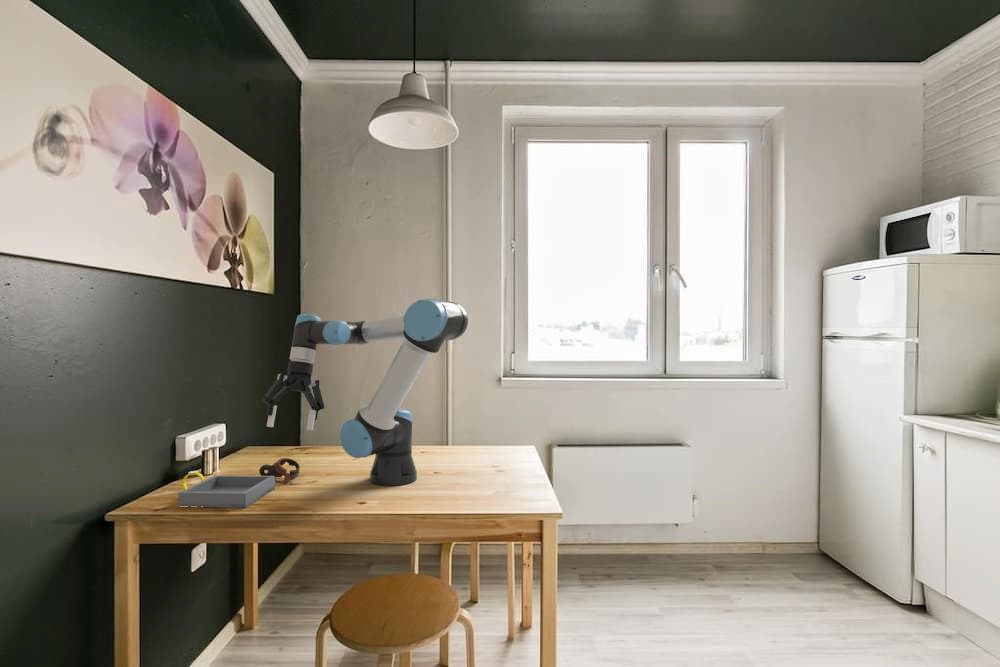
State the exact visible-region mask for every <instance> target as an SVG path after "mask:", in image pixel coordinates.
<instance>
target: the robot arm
mask: <svg viewBox="0 0 1000 667" xmlns="http://www.w3.org/2000/svg"><path fill="white" fill-rule="evenodd" d="M468 325H469V318H468V313H467V312H466V310H465V308H464V307H462V305H460V304H459V303H457V302H455V301H449V300H448V301H446V300H438V299H434V298H423V299H418V300H416V301H414V302H412V303H411V304H410V305H409V306H408V308H407V309H406V311H405V312H404V315H400V316H393V317H386V318H377V319H371V320H361V321H344V320H339V319H338V320H335V319H334V320H321V317H319V316H317V315H315V314H308V313H307V314H306V313H301V314H298V315H297V317H296V321H295V325H294V329H293V330H294V332H293V335H292V336H293V337H292V343H291V348H290V349H291V350H290V354H289V360H290V361H288V365H287V374H286V375H285V374H284V373H278V374H276V376H275V380H274V382H273V384H271V386H270V388H269V389H268V390H267V392H266V393H265V395H264V396H263V398H262V400H261V401H262V403H265V404H266V405H267V408H266V416H267V417H268V418H267V422H266V427H268V428H274V427H275V425H274V424H275V420H276V413H277V408H278V405H276V404H277V402H279V401H280V399H282V398H283V397H284V396H285V395H286V394H287V393H289V392H290V391H296V392H300V393H301V392H302V394H303V395H304V397H305V399H306V401H307V403H308V405H309V406H310V408H311V409H309V411H308V418H307V423H306V431H312V432H313V431H314V428H315V427H314V426H315V421H317V420H318V414H319V411H320V410H324V409H325V404H324V400H323V397H322V394H321V389H320V388H321V387H320V380H319V379H312V375H313V369H314V365H313V363H315V358H316V352H317V346H318V345H334V346H335V345H336V346H337V345H339V346H340V345H366V344H369V343H378V342H379V343H380V342H388V341H396V340H399V341H400V340H403V342H402V344H401V346H400V347H399V349H398V351H397V353H396V354H395V355H394V356H395V357H394V358H393V359H392V361H391V363H390V365H389V367H388V369H387V370H386V372H385V373H384V376H383V377H382V380H380V382H379V385H378V386H377V388H376V390H375V392H374V393H373V395H372V397H371V398H370V400H369V402H368V403H367V404H364V405H362V406H361V407H359V410H358V411H357V413H356V415H355V417H354V418H353V419H348V420H347V421H345V422H344V423H343V424H342V425H341V427H340V430H339V440H340V443H341V447H342V449H343V450H344V451H345V453H346V454H347V455H349V456H350V457H351V458H355V459H362V458H368V457H371V456H373V455H375V457H374V461H373V463H372V466H371V470H370V473H369V481H370V482H371V483H372V484H375V485H379V486H400V485H408V484H410V483H413V482H415V481H416V480H417V479H418V474H417V473H418V472H417V468H416V465H415V462H414V459H413V456H412V451H413V450H412V448H413V445H412V444H413V441H412V440H413V414H412V412H411V411H410V410H408V409H407V410H406V409H400V407H401V406H402V404H403V402H404V401H405V398H406V397H407V395H408V393H409V392H410V390H411V388H412V387H413V385H414V383H415V381H416V380H417V378H418V376H419V375H420V373H421V371H422V369H423V368H424V366H425V365H426V362H427V361H428V359H429V358H430V356H431V355H435V354H438V353H439V351H440V349H441V347H442V346H443V344H444V342H445V341H452V340H456V339H459V338H460V337H462V336H463V335H464V333H465V332H466V330H467V328H468ZM283 382H286V384H285V385H284V386H282V384H283ZM281 386H282V387H281ZM310 386H311V388H310ZM280 387H281V389H280V390H279V388H280ZM278 390H279V391H278ZM276 392H277V393H276Z"/></svg>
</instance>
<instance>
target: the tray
mask: <svg viewBox="0 0 1000 667" xmlns="http://www.w3.org/2000/svg"><path fill="white" fill-rule="evenodd" d="M275 489H276V477H275V476H261V475H235V474H234V475H233V474H231V475H229V474H228V475H227V474H226V475H224V474H223V475H218V474H214V475H213V476H211V477H209V478H207V479H205V480H204V481H202V480H201V481H200V482H198V483H196V484H194V485H192V486H190V487H188V488H187V489H183V490H181V491H179V492H178V500H177V501H178V503H177V504H178V505H177V506H188V507H191V506H197V507H201V506H203V507H216V508H215V509H246V508H248V507H249V506H251V505H253V504H254V503H256V502H257V501H259V500H260V499H262V498H263V497H265V496H266V494H267V495H268V494H270V493H271V492H272V490H273V491H274V490H275ZM269 492H270V493H269ZM219 507H220V508H219Z"/></svg>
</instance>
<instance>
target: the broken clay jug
mask: <svg viewBox="0 0 1000 667" xmlns="http://www.w3.org/2000/svg"><path fill="white" fill-rule="evenodd" d="M286 463H287V464H288V466H290V467H295V469H293V470H289V473H288V472H287V471H288V469H286V468H285V467H283V466H284V465H285V464H286ZM258 471H259V476H275V478H277V477H284V478H283V480H282V484H285V485H287V484H286V483H288V484H289V483H290V482H291V481H294V480H295V479H296V478H297V477H299V475H300V464H299V462H297V461H296V460H294V459H291V458H288V457H283V458H282V457H281V458H279V459H277V461H276V462H274V463H273V464H263V465H262V466H260V467H259V470H258ZM265 471H267V472H265Z"/></svg>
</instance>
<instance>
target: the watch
mask: <svg viewBox="0 0 1000 667" xmlns="http://www.w3.org/2000/svg"><path fill="white" fill-rule="evenodd" d="M195 475H196V476H197V477H199V478H200V480H201V482H202V481H204V480H206V479H205V477H204V476H203V474H202V473H200V471H199V470H191V471H189V472H188V473H187V474H186V475H185V476H184V477H183V479H182V487H183V490H185V489H187V488H189V487H188V485H187V479H188V477H189V476H195Z"/></svg>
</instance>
